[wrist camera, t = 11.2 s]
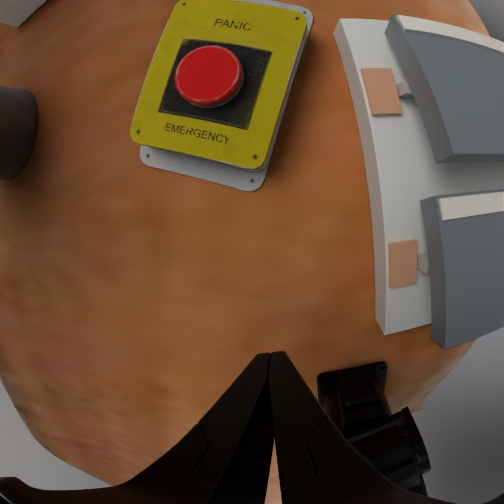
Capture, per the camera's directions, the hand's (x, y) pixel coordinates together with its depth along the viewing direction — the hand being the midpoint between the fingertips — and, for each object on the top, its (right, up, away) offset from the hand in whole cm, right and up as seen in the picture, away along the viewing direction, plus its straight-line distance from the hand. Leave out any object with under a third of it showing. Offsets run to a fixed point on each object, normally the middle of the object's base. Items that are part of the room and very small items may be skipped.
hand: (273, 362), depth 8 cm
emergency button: (-2, +16, +9) cm, 18 cm away
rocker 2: (+16, +3, +5) cm, 17 cm away
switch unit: (+15, +10, +8) cm, 19 cm away
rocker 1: (+14, +13, +2) cm, 19 cm away
